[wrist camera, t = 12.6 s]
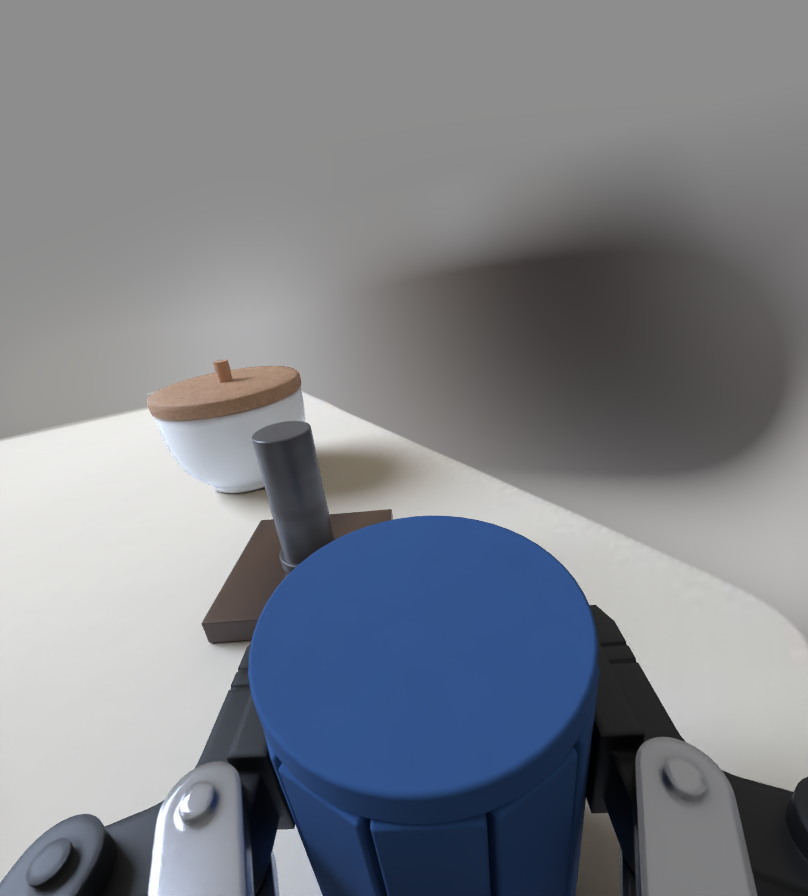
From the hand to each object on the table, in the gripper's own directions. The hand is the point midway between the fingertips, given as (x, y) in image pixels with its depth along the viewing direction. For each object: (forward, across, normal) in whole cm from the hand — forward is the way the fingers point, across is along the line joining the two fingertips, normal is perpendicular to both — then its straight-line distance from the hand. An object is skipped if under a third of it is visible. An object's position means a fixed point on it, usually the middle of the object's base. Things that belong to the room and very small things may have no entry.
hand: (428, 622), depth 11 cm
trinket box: (+22, -14, -6) cm, 27 cm away
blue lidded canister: (-3, 0, -6) cm, 7 cm away
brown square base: (+9, -6, -6) cm, 13 cm away
